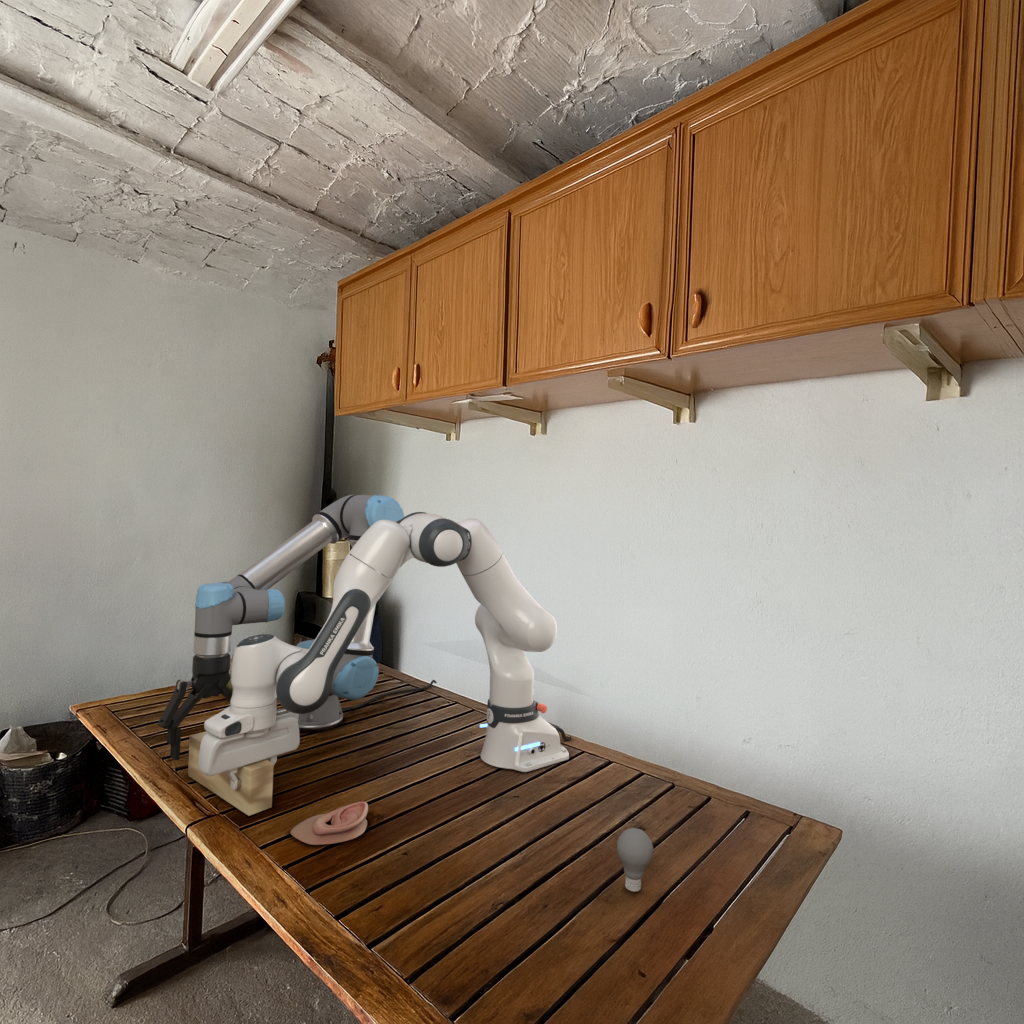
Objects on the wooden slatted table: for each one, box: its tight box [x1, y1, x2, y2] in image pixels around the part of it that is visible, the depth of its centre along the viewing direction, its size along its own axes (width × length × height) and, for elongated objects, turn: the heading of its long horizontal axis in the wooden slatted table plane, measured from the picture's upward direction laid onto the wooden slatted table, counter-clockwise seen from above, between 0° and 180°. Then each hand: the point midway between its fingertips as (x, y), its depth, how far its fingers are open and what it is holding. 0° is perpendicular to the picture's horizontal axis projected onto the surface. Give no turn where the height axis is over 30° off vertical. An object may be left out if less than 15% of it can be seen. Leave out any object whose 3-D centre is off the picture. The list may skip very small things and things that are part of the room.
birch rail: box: [187, 730, 275, 817], centre depth 135 cm, size 5×26×9 cm, turn 51°
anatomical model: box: [290, 801, 369, 846], centre depth 120 cm, size 13×4×12 cm
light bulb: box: [616, 827, 654, 893], centre depth 106 cm, size 6×6×10 cm
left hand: (206, 750), depth 140 cm, fingers open, 13 cm apart
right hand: (250, 782), depth 129 cm, fingers closed on birch rail, 5 cm apart
